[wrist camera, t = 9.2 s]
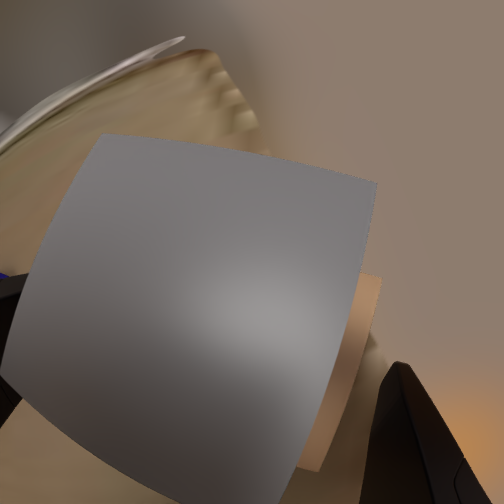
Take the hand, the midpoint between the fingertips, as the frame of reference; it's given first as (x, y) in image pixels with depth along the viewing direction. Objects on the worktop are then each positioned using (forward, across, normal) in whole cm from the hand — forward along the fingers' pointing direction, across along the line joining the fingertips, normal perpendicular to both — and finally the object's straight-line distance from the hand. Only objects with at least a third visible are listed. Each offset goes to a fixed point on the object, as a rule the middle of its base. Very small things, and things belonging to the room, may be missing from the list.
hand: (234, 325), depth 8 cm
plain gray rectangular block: (+5, 0, +6) cm, 8 cm away
